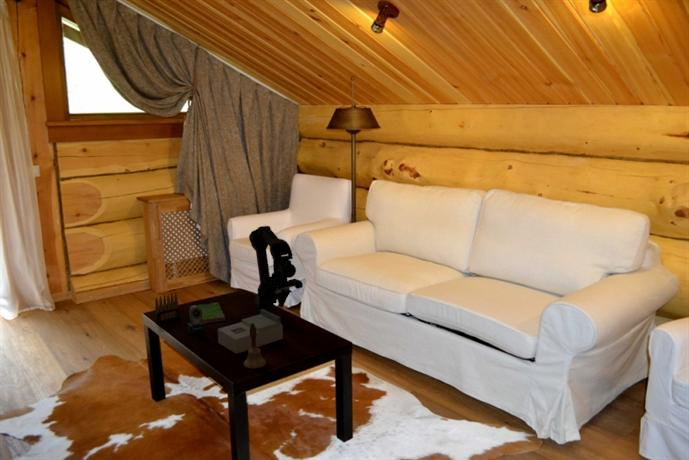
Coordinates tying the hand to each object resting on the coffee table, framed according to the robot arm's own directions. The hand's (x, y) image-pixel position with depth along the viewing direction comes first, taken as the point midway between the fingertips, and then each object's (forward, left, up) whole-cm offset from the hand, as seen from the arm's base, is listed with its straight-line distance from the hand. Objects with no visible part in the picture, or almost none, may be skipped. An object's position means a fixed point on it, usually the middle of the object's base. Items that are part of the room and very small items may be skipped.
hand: (281, 306), depth 243 cm
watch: (+28, -25, -11) cm, 39 cm away
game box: (+14, -38, -12) cm, 42 cm away
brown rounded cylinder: (+21, 0, -11) cm, 24 cm away
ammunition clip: (+32, -44, -11) cm, 55 cm away
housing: (+16, 0, -11) cm, 19 cm away
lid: (+10, 0, -5) cm, 11 cm away
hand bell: (+26, +19, -11) cm, 34 cm away
